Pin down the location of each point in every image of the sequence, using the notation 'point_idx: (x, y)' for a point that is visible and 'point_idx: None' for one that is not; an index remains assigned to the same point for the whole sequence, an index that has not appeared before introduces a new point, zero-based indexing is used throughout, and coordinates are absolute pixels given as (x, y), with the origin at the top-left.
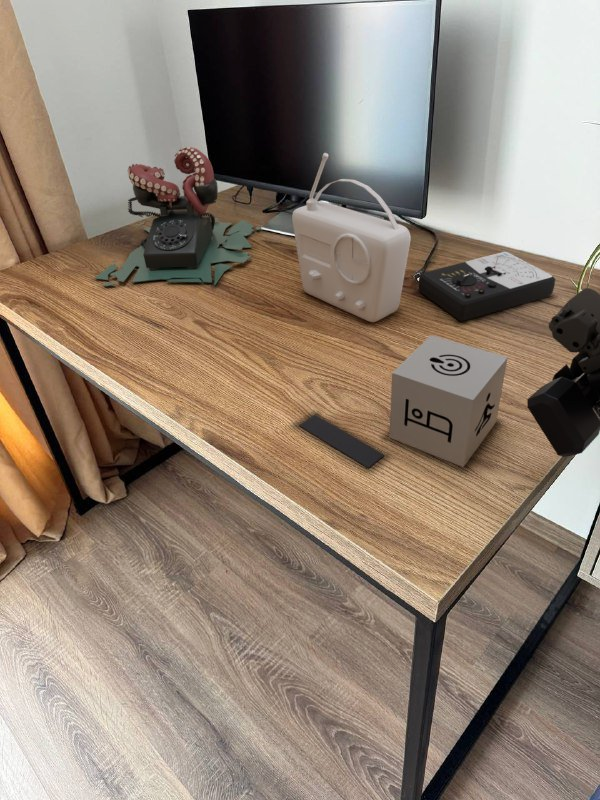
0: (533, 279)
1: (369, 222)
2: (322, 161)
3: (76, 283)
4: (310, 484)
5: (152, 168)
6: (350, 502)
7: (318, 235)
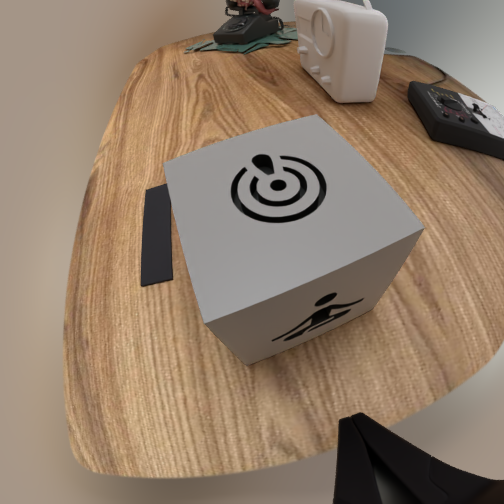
0: None
1: (347, 4)
2: None
3: (175, 51)
4: (88, 270)
5: None
6: (92, 318)
7: (304, 14)
